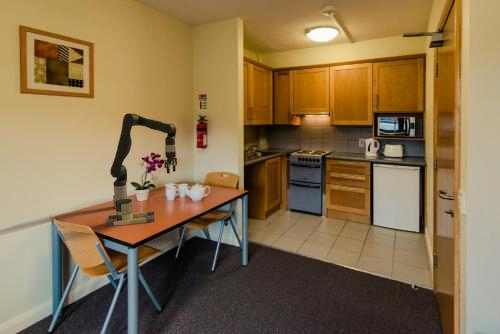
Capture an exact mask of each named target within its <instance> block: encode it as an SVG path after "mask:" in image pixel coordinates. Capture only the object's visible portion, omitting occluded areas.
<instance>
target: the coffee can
mask: <svg viewBox="0 0 500 334" xmlns="http://www.w3.org/2000/svg"><path fill="white" fill-rule="evenodd" d="M115 205H116V208H115V215H116V218H117V219H116V221H124V220H134V219H133V218H134V217H133V216H132V213H133V200H132V199H130V198H127V199H120V200H117V201H115Z"/></svg>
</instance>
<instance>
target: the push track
mask: <svg viewBox="0 0 500 334" xmlns="http://www.w3.org/2000/svg"><path fill="white" fill-rule="evenodd" d="M107 216H108V217H107V219H108V220H107V221H106V222H104V226H105V227H114V226H122V225H123V226H124V225H136V224H142V223H145V224H146V223H154V222H155V211H147V212H146V211H145V212H143V211H142V212H135V213H134V212H132V216H133V218H137V217H146V218H137V219H133V220H124V221H117V218H116V214H112V215H111V214H110V215H107Z"/></svg>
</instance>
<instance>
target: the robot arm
mask: <svg viewBox="0 0 500 334" xmlns="http://www.w3.org/2000/svg"><path fill="white" fill-rule="evenodd" d="M136 126H141V127H146V128H147V129H151V130H153V131H159V132H161V133H164V134H167V135H166V137H165V138H164V139H165V140H164V142H165V143H164V145H165V147H164V150H165V151H164V153H165V158H166V159H164V169H166V174H168V175H169V174H171V168H172V172H174V173H175V172H176V170H177V166H178V158H177V157H176V156H177V152H176V135H177V128H176V125H175V124H174V123H166V122H162V121H160V120H155V119H151V118H146V117H144V116H141V115H139V114H136V113H129V112H127V113H125V115H123V119H122V125H121V131H120V136H119V140H118V143H117V147H116V153H115V155H114V159H113V162H112V165H111V167H110V170H109V172H110V176H111V177H113V178H115V180H114V181H113V194H114V195H112V198H113V208H115V209H116V205H115V201H117V200H120V199H128V190H127V183H128V170H127V167H126V166H125V165H124V161H125V159H126V158H127V156H129V154H130V152H131V149H132V144H133V142H132V137H131V133H132V128H133V127H136ZM171 166H172V167H171Z"/></svg>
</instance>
